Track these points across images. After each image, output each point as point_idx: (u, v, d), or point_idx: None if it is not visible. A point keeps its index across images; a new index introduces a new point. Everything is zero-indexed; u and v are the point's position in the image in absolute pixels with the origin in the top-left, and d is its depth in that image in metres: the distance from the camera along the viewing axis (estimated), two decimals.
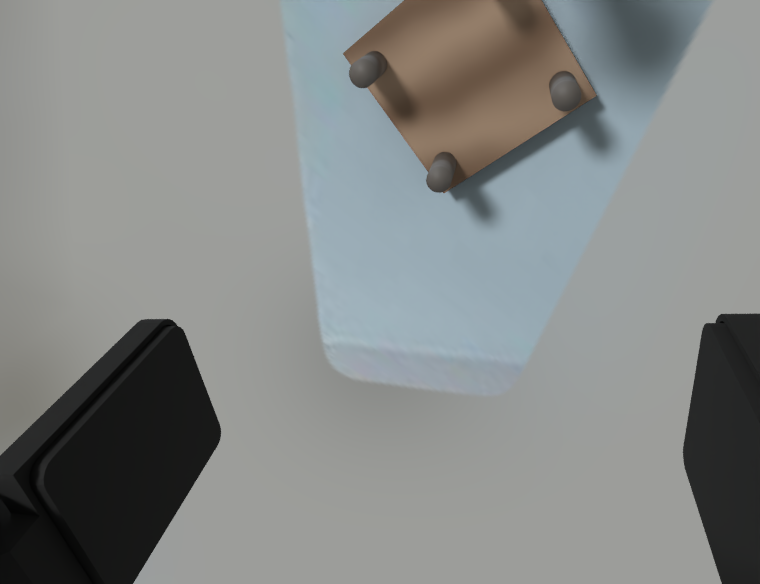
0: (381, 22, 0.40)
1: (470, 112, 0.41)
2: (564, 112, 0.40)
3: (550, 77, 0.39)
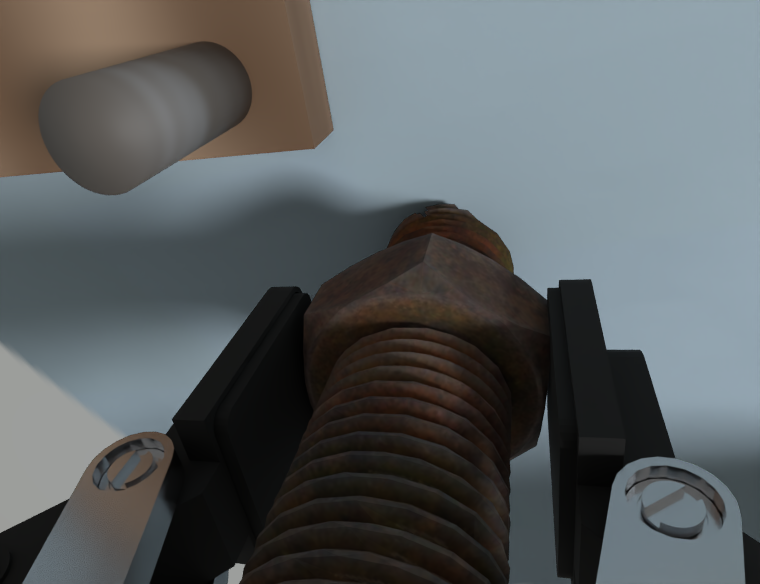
0: None
1: None
2: None
3: None
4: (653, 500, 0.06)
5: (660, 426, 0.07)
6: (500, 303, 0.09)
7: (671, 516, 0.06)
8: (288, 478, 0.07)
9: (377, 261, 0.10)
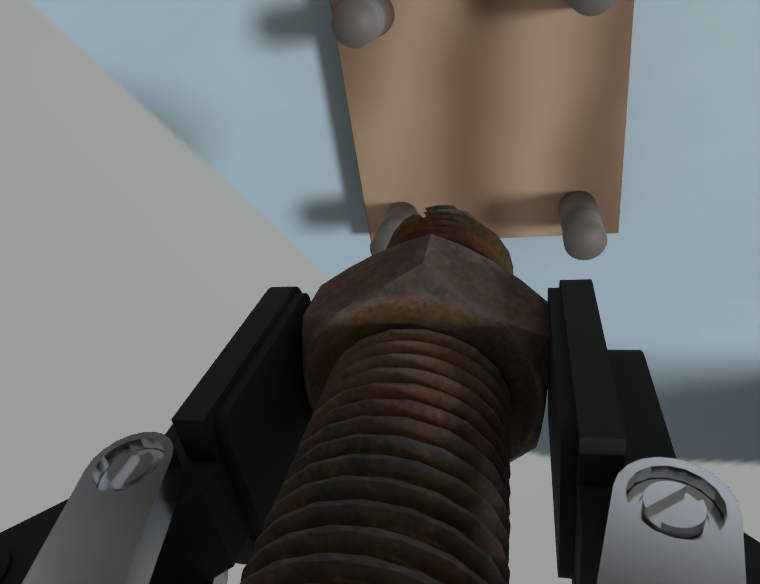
0: (628, 31, 0.24)
1: (428, 94, 0.27)
2: (369, 205, 0.30)
3: (417, 209, 0.30)
4: (654, 500, 0.06)
5: (660, 426, 0.07)
6: (500, 304, 0.09)
7: (672, 516, 0.06)
8: (287, 481, 0.07)
9: (376, 262, 0.10)
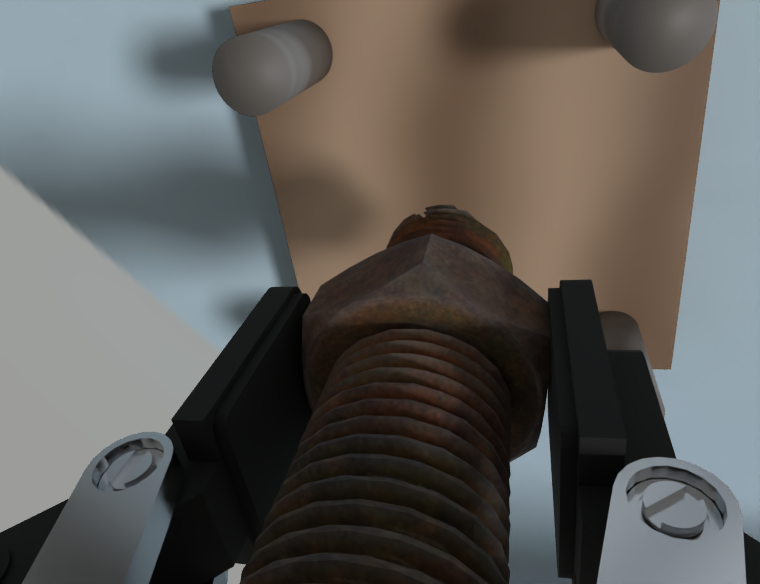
0: (703, 85, 0.15)
1: (389, 170, 0.18)
2: None
3: None
4: (654, 500, 0.06)
5: (660, 426, 0.07)
6: (500, 304, 0.09)
7: (672, 516, 0.06)
8: (286, 481, 0.07)
9: (376, 262, 0.10)
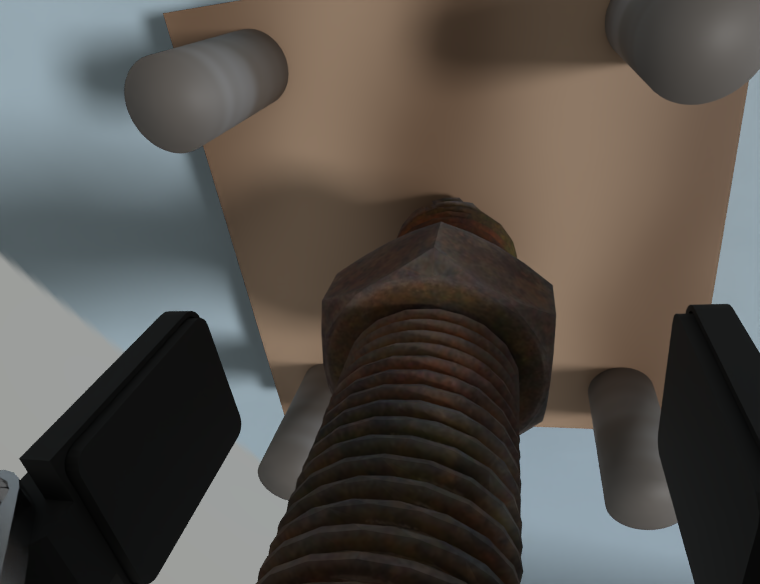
0: (737, 110, 0.12)
1: (359, 205, 0.15)
2: (275, 364, 0.19)
3: None
4: None
5: None
6: (506, 285, 0.10)
7: None
8: (316, 444, 0.08)
9: (389, 250, 0.11)
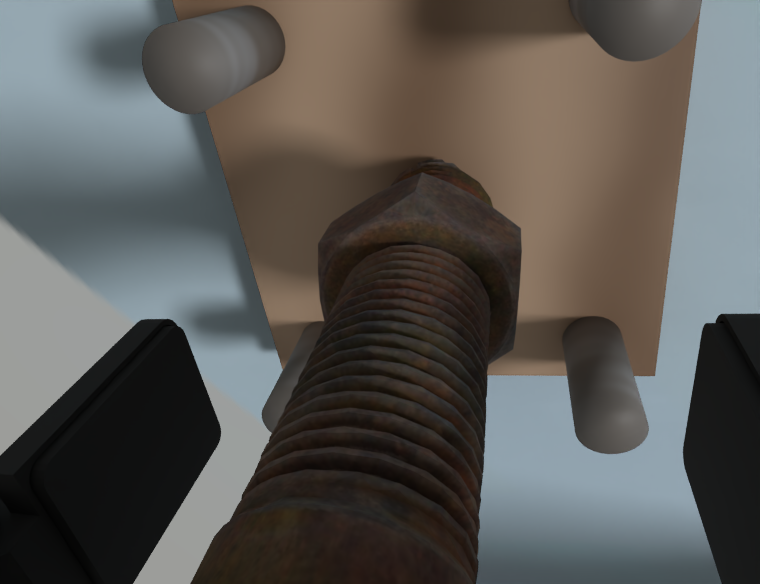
0: (686, 74, 0.14)
1: (351, 169, 0.17)
2: (275, 323, 0.20)
3: None
4: None
5: None
6: (478, 224, 0.11)
7: None
8: (314, 349, 0.09)
9: (377, 198, 0.12)
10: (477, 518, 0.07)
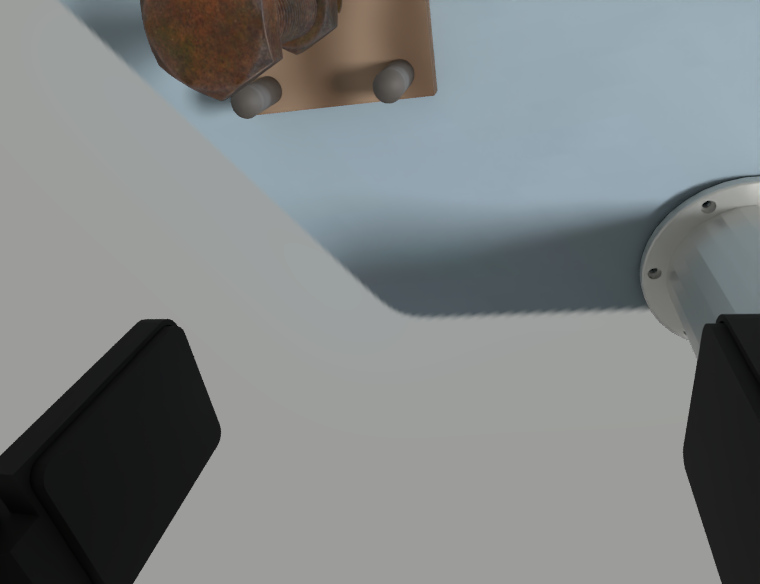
0: None
1: None
2: None
3: (279, 82, 0.37)
4: None
5: None
6: None
7: None
8: None
9: None
10: (280, 10, 0.25)
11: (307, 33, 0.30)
